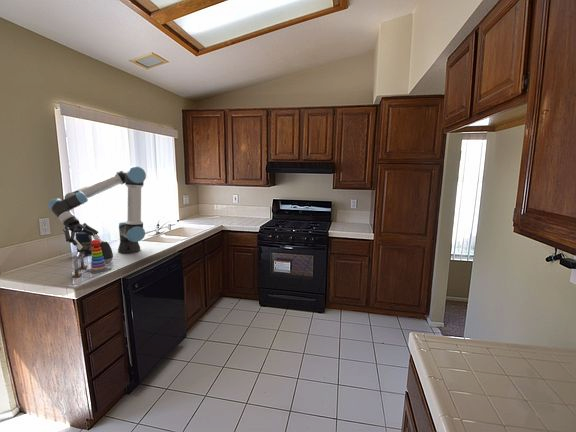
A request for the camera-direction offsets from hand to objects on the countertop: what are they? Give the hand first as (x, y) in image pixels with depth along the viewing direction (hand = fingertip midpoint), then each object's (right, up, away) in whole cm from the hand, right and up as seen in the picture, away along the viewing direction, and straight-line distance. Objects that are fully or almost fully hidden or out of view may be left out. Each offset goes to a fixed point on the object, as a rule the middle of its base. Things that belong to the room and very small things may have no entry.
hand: (91, 245), depth 179 cm
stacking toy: (+3, -15, +3) cm, 15 cm away
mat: (+3, -16, +2) cm, 16 cm away
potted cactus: (-3, -13, +17) cm, 22 cm away
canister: (-27, -10, +35) cm, 45 cm away
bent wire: (-6, -16, -2) cm, 17 cm away
